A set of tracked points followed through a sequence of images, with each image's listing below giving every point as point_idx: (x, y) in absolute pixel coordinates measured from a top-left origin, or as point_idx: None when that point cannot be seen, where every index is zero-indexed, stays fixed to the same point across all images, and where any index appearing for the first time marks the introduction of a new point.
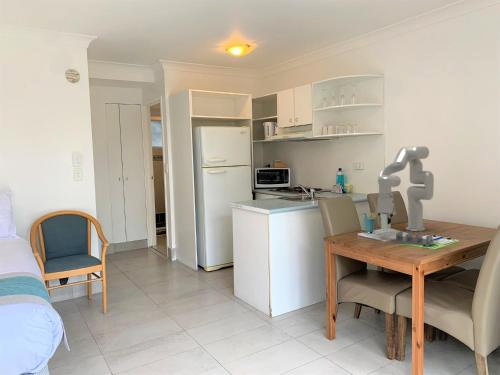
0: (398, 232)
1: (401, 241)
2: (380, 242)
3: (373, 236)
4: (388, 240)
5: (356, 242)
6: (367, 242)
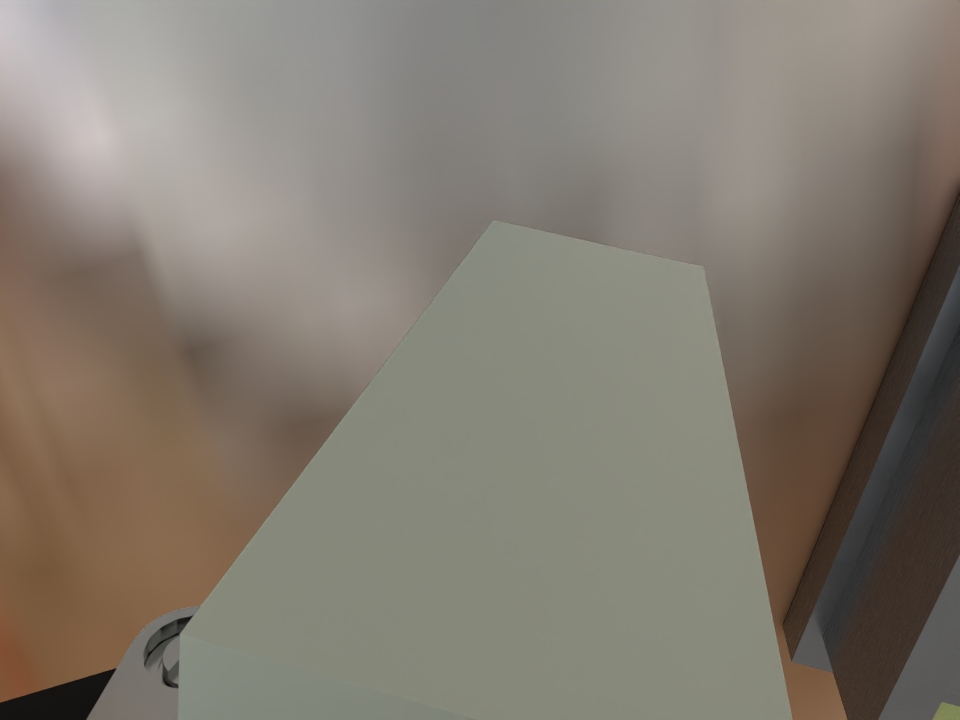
0: (951, 597)
1: (946, 693)
2: None
3: (235, 106)
4: None
5: None
6: None
